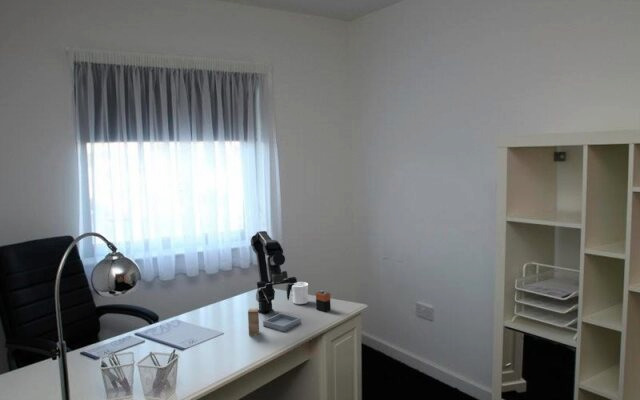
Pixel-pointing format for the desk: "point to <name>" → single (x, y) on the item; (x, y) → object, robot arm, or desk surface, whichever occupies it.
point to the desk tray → (282, 322)
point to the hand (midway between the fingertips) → (278, 301)
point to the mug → (300, 293)
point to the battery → (323, 301)
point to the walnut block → (253, 321)
